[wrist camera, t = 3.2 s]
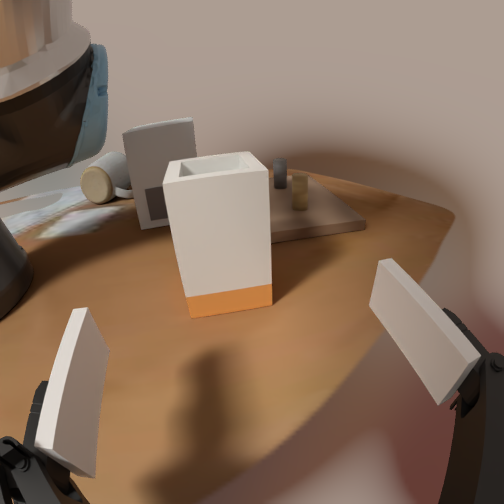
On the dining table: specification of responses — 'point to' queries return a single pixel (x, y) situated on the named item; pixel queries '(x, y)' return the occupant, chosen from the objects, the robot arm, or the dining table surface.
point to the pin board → (312, 218)
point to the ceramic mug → (107, 179)
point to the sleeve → (221, 231)
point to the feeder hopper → (155, 164)
